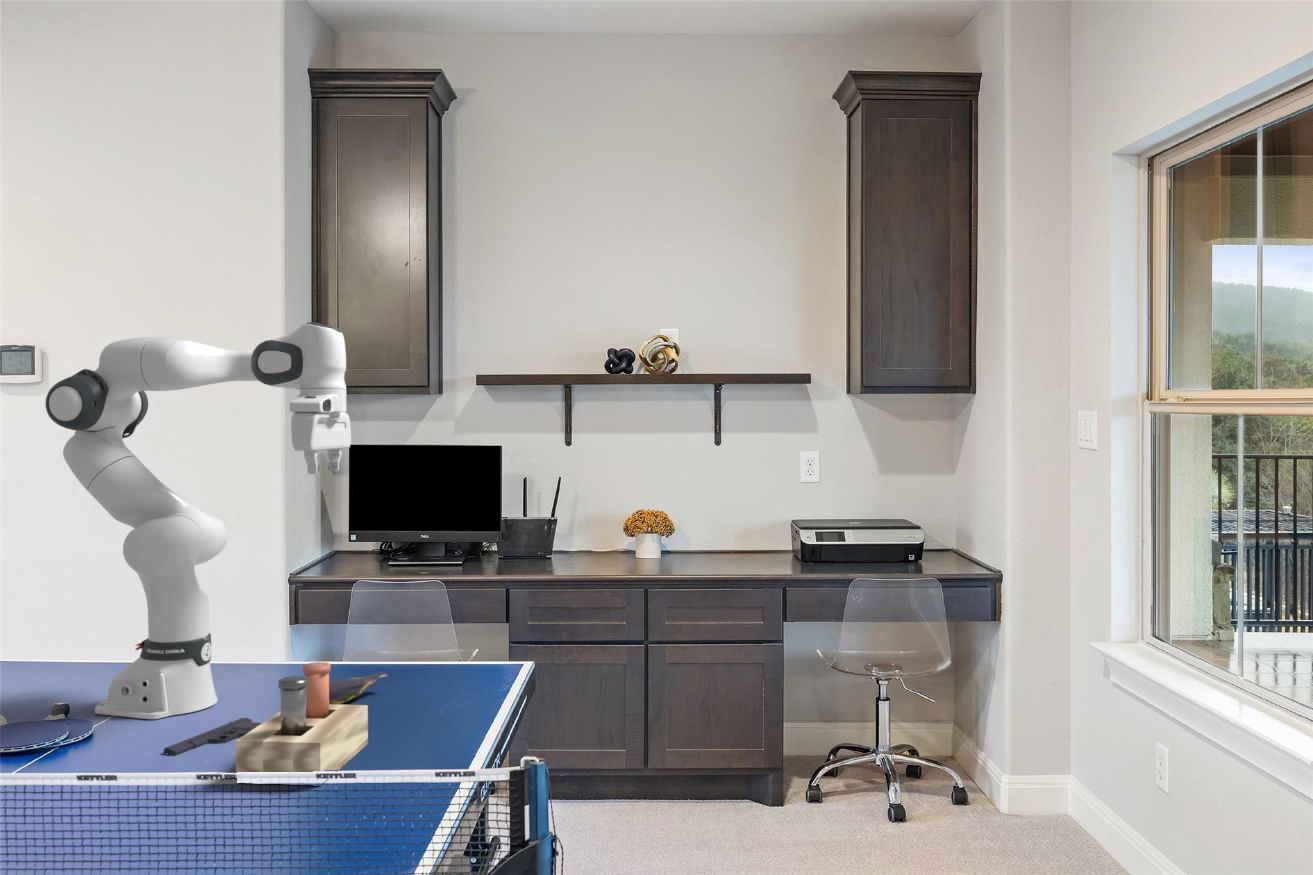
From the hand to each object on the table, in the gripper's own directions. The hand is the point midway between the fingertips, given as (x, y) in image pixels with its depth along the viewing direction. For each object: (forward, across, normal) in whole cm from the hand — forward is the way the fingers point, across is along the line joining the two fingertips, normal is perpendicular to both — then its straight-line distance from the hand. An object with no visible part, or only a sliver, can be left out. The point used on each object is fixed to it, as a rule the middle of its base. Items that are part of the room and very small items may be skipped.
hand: (323, 472), depth 190 cm
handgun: (+49, +20, -10) cm, 54 cm away
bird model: (+48, -5, +2) cm, 49 cm away
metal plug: (+42, +33, +9) cm, 55 cm away
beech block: (+48, +29, +9) cm, 57 cm away
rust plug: (+43, +25, +9) cm, 50 cm away
